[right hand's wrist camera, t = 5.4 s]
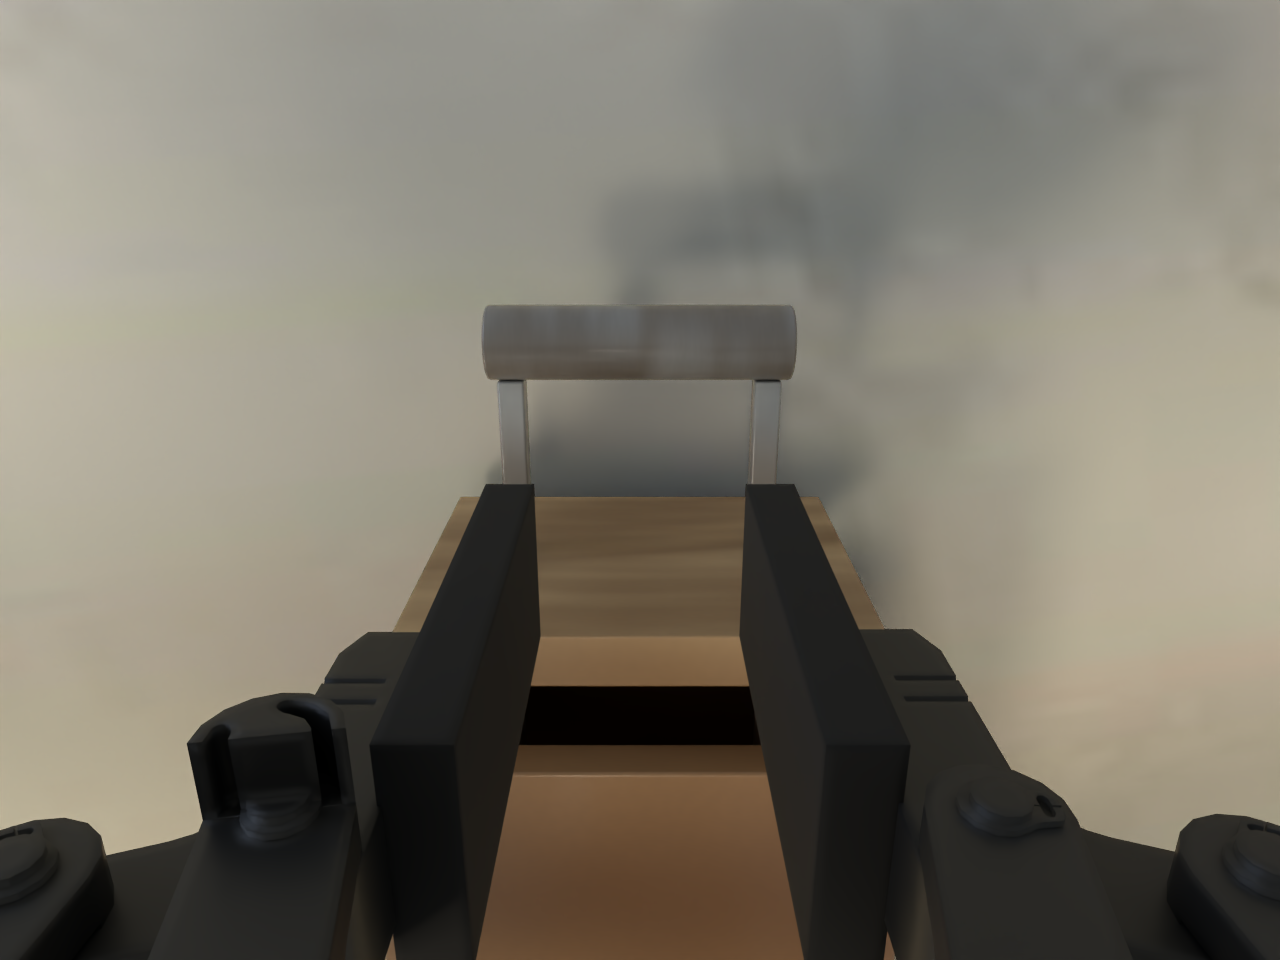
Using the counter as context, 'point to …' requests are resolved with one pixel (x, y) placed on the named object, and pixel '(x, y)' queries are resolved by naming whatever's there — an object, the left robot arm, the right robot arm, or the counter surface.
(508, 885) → the cabinet
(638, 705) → the drawer
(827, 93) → the counter surface
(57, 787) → the counter surface
